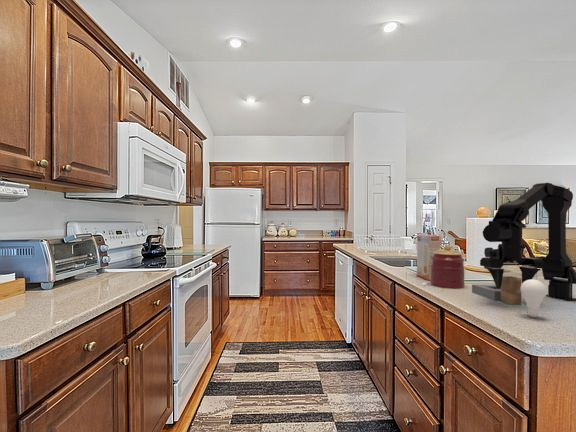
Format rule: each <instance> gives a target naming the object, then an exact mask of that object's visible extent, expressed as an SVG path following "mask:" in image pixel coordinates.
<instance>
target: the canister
mask: <svg viewBox="0 0 576 432" xmlns="http://www.w3.org/2000/svg"><path fill="white" fill-rule="evenodd" d="M433 253H434V256H432V257H431V259H432V265H431V281H430V285H431V286H433V287H436V288H442V289H453V290H455V289H456V290H457V289H464V288H465V285H466V284H465V269H466V268H465V265H464V262H465V260H466V259H465V258H463V253H462V252H461V251H460V250H457V249H456V250H455V249H452V246H451V245H449V244H445V245H444V246H443V249H442V248H441V249H438V250H436V251H434V252H433Z"/></svg>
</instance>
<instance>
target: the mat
mask: <svg viewBox="0 0 576 432" xmlns="http://www.w3.org/2000/svg"><path fill="white" fill-rule="evenodd" d="M493 303H498V304H500V305H503V306H506V307H510V308H523V307H524V308H525V307H526V308H527V306H526V303H525V304H524V303H521V305H508V304H505V303H502V302H501V300H493Z"/></svg>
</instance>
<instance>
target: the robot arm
mask: <svg viewBox="0 0 576 432" xmlns="http://www.w3.org/2000/svg"><path fill="white" fill-rule="evenodd" d="M573 199H574V194H573V192H572V191H571V190H570V189H569V188H567V187H563V186H559V185H555V184H553V183H551V182H540V183H535V184H533V185H532V187H531V188H529V189H528V190H527V191H525V193H523V194H522V195H521V196H519V197H517V198H516V199H515V200H511V201H507V202H504V203H502V204H500V206H499V207H498V209H497V210H496V213H495V215H494V217H493V219H492V220H488V224H487V225H486V226H485V227H484V228H483V230H482V236H483V239H484V240H485V241H487V242H489V243H498V245H497V248H495V249H494V248H493V247H485V248H484V251H483V252H484V253H483V254H484V257H482V258H481V259H480V260H479V266H481V267H483V268H484V269H487V271H488V272H489V273H490V275H491V277H492V280H493V282H494V284H495V285H496V287H497V289H500V288H501V284H502V278H503V276H504V272H505V271H504V270H505V268H503V267H504V266H518V268H519V270H520V271H521V279H522V280H521V284H522V283H523V282H524V281H526V280H530V279H534V277H535V276H536V274H537V273H538V272H539V271H542V276H543V280H544V281H548V285H547V288H548V289H547V290H548V291H547V293H548V294H546V296H545V297H550V298H554V299H558V300H561V301H576V298H575V297H573V285H576V270H575V269H574V267H573V261H572V260H571V258H570V257H569V256H568V254H567V229H566V228H567V226H566V225H567V219H566V217H567V215H566V214H567V212H568V211H569V210H570V208H571V207H572V203H573ZM540 201H541V204H542V207H543V209H544V210H545V211H546V212H547V215H548V216H547V218H548V219H547V222H548V224H547V225H548V227H547V230H548V237H547V238H548V239H547V240H548V252H547V254H546V256H545V257H542V258H536V257H523V249H525V250H526V245H524V244H523V229H526V228H527V225H526V224H524V223H523V221H524V220H525V219H526V218H528V216H529V215H530V209H531V208H532V207H534V206H535V205H536V204H538V203H539V202H540Z"/></svg>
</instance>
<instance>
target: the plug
mask: <svg viewBox="0 0 576 432" xmlns="http://www.w3.org/2000/svg"><path fill="white" fill-rule="evenodd" d="M521 285H522V277H518V276H513V275H511V276H509V275H503V278H502V284H501V300H500V301H501V302H502V303H505V304H508V305H521V304H522V293H521V290H520V288H521Z"/></svg>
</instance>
